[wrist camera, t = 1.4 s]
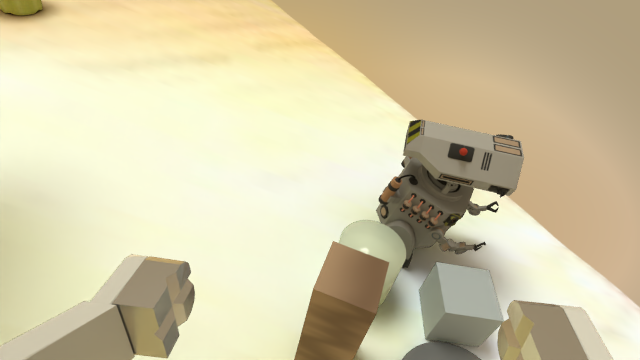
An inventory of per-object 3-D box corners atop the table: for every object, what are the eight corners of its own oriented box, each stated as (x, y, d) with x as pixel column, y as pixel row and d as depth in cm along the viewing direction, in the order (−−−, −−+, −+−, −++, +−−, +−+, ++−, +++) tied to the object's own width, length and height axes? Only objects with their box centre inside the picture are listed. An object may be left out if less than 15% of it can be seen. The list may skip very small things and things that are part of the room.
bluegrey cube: (424, 339, 35) (445, 312, 32) (418, 290, 39) (436, 262, 36) (478, 347, 36) (503, 321, 32) (466, 298, 39) (489, 270, 36)
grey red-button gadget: (457, 298, 39) (537, 194, 29) (356, 244, 42) (395, 132, 32) (476, 240, 45) (547, 137, 35) (386, 196, 48) (428, 89, 38)
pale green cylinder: (320, 296, 37) (331, 259, 33) (338, 249, 41) (350, 211, 37) (380, 320, 36) (399, 285, 32) (392, 270, 40) (411, 233, 36)
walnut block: (292, 367, 32) (313, 289, 24) (309, 324, 35) (333, 241, 26) (338, 387, 31) (376, 313, 23) (351, 341, 34) (389, 262, 26)
